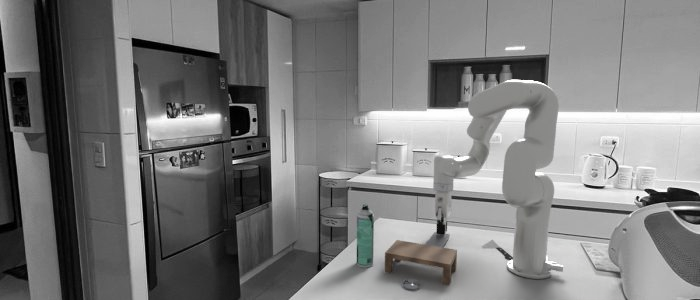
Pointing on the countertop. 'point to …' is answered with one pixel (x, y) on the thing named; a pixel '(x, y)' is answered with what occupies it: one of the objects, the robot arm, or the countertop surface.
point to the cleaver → (493, 245)
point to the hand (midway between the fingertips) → (441, 232)
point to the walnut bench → (422, 257)
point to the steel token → (411, 284)
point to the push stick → (438, 238)
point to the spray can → (365, 237)
